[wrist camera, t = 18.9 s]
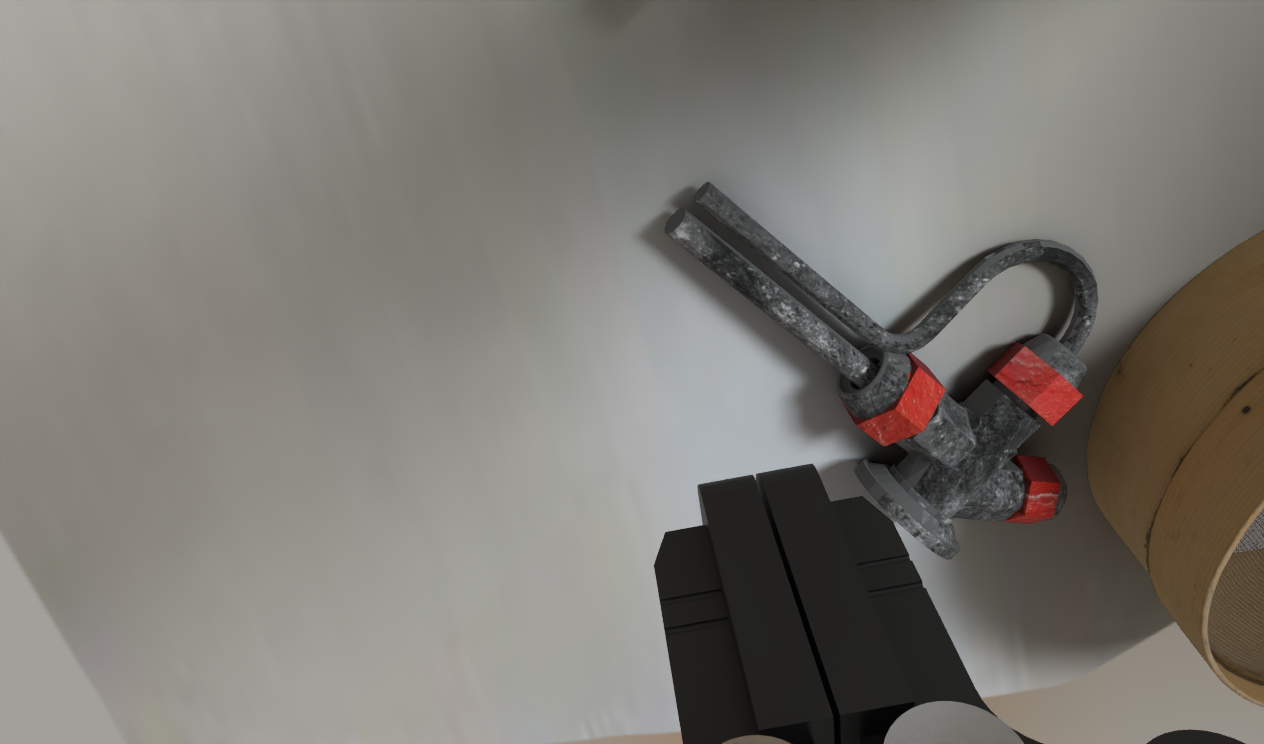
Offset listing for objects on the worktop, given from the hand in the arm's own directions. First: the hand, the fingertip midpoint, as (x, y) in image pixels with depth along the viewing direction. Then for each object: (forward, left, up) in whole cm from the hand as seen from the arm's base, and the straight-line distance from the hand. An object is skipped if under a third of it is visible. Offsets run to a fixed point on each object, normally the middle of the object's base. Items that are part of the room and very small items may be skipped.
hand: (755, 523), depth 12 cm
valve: (+6, +19, -28) cm, 34 cm away
